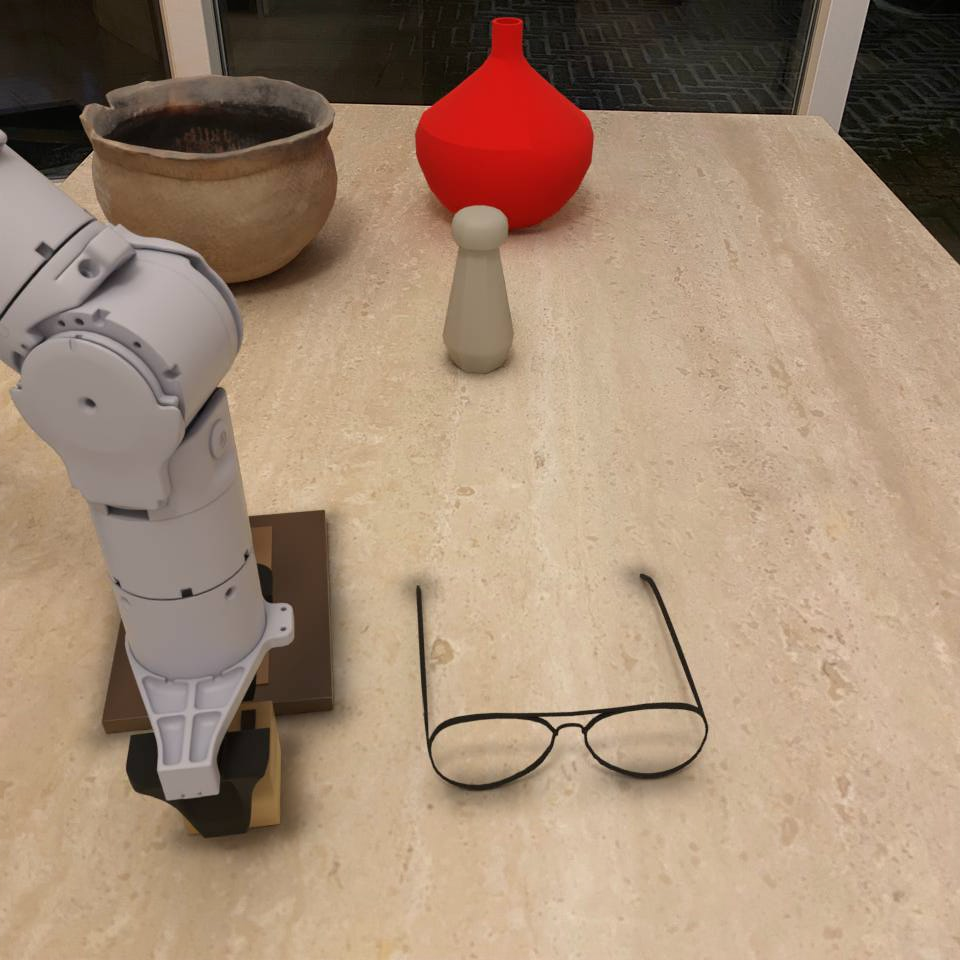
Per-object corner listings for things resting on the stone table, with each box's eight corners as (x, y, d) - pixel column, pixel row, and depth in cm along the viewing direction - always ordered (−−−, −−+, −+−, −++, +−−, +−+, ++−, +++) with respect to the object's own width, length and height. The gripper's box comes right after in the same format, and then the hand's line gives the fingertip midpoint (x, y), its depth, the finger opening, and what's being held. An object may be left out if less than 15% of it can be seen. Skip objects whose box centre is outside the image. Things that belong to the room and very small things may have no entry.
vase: (622, 212, 108) (642, 22, 96) (508, 265, 97) (515, 59, 85) (497, 167, 118) (501, -10, 106) (381, 211, 107) (371, 20, 95)
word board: (105, 734, 53) (100, 720, 52) (141, 536, 65) (137, 523, 65) (333, 709, 54) (332, 696, 54) (326, 520, 67) (324, 507, 66)
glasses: (426, 795, 50) (423, 722, 47) (416, 609, 63) (414, 543, 60) (705, 776, 51) (718, 704, 48) (641, 597, 64) (647, 532, 61)
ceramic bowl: (115, 228, 103) (81, 77, 94) (325, 207, 108) (312, 61, 98) (116, 332, 86) (74, 161, 77) (365, 301, 91) (353, 136, 82)
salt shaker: (435, 348, 85) (432, 200, 77) (499, 338, 86) (503, 192, 78) (454, 384, 80) (454, 231, 72) (522, 373, 82) (528, 222, 74)
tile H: (187, 835, 48) (172, 783, 46) (194, 760, 52) (180, 707, 49) (280, 824, 49) (270, 771, 46) (281, 750, 52) (271, 697, 50)
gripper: (279, 677, 35) (315, 886, 43) (282, 439, 46) (311, 641, 55) (70, 699, 34) (148, 908, 43) (125, 451, 45) (178, 654, 54)
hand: (229, 759), depth 49 cm, fingers open, 7 cm apart
